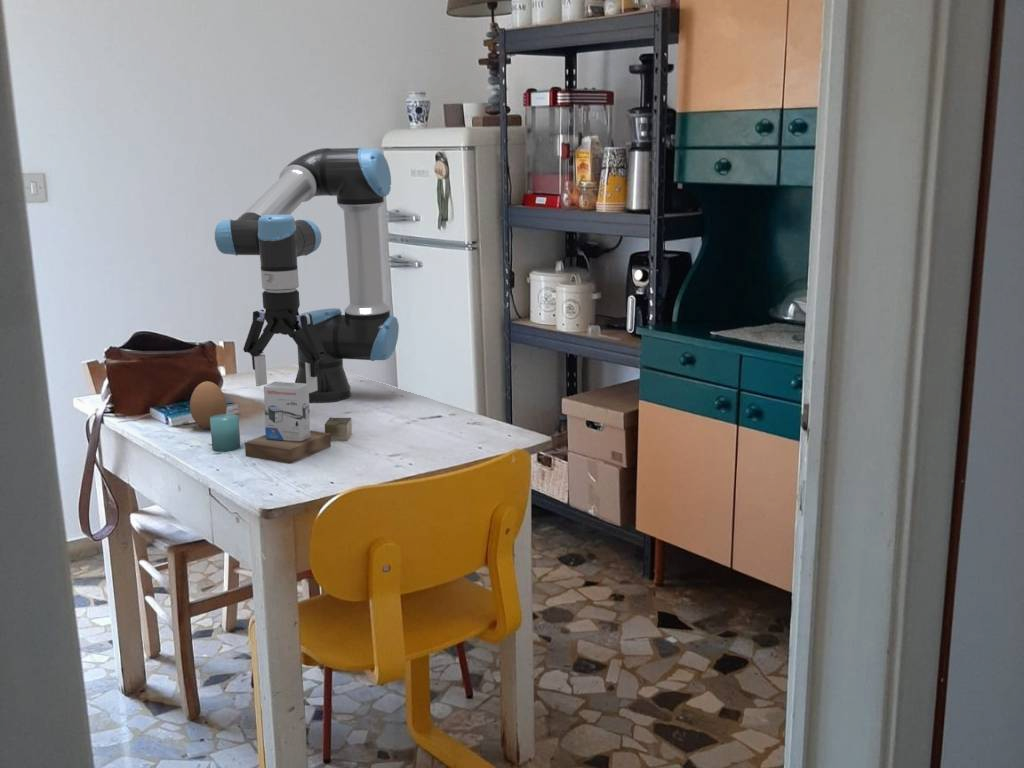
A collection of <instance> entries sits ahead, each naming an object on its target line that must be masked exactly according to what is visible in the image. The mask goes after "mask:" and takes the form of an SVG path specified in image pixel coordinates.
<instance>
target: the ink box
mask: <svg viewBox="0 0 1024 768" xmlns="http://www.w3.org/2000/svg"><path fill="white" fill-rule="evenodd" d="M263 397H264V402H263V403H264V426H265V429H264V430H265V431H264V432H265V435H266V439H273V440H286V441H303V440H305V439H307V438H308V437H310V430H311V424H310V423H311V421H310V420H311V419H310V418H311V416H310V415H311V414H310V402H309V393H307V386H306V384H304V383H295V382H287V381H274V382H273V381H272V382H271V383H267V384H265V385H263Z"/></svg>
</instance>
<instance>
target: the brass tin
mask: <svg viewBox="0 0 1024 768" xmlns="http://www.w3.org/2000/svg"><path fill="white" fill-rule="evenodd" d="M324 433H331V442H348V441H349V439H350V438H351V437H352V434H353V424H352V417H329V418H328V420H327V421H326V422H325V424H324Z"/></svg>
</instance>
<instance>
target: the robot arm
mask: <svg viewBox="0 0 1024 768" xmlns="http://www.w3.org/2000/svg"><path fill="white" fill-rule="evenodd" d="M278 177H279V178H278V180H277V181H276V182H275V183H274V184H272V185H271V186H270V187H269V188H268V189H267V190H266V191H265V192H264V193H263V194H262V195H261V196H260V197H259V198H258V199H257V200H255V202H254V203H252V205H251V206H250V207H248V208H247V209H246V211H245V212H243V213H242V214H241V215H240V216H239V217H238V218H237V219H233V220H232V219H228V220H221V221H219V222H218V223H217V224H216V225H215V226H216V227H215V231H214V241H215V246H216V248H217V250H218V251H219V252H220V253H221V254H224V255H232V256H236V257H238V256H259V260H260V274H261V275H260V279H261V288H262V289H263V290H264V291H263V292H262V293H261V294H262V296H261V297H262V307H263V309H259V310H258V309H257V310H254V311H252V322H251V326H250V329H249V331H248V334H247V337H246V340H245V343H244V346H243V350H242V351H243V352H244V353H248V354H250V356H251V362H252V363H251V364H252V370H254V372H255V373H254V374H255V386H256V387H261V386H266V385H268V377H267V364H266V363H267V361H266V360H267V359H266V354H264V350H265V348H266V347H267V346H268V345H269V343H270V341H271V340H272V338H273V337H274V335H279V334H281V335H285V336H286V335H287V336H288V337H290V338H291V339H292V340H293V341H294V342H295V344H296V346H297V360H298V364H297V365H298V370H297V373H296V377H295V381H294V383H304V384H306V386H307V393H309V403H327V402H329V403H330V402H336V401H341V400H342V401H343V400H345V399H347V398H350V396H351V385H350V384H349V381H348V377H347V374H346V371H345V370H344V369H345V368H344V362H343V361H344V360H358V361H359V360H361V361H363V360H364V361H372V362H374V361H386V360H388V359H389V358H391V357H392V355H393V353H394V352H395V349H396V347H397V342H398V339H399V333H400V332H399V330H400V329H399V328H400V327H399V326H400V325H399V322H398V318H397V317H396V316H394V315H391V313H390V312H391V309H390V307H389V306H388V305H387V304H386V303H385V302H384V293H383V291H384V289H383V272H382V271H383V270H382V255H381V239H380V238H381V237H380V236H381V235H380V218H379V210H380V207H382V206H383V204H384V201H385V200H384V199H385V197H387V196H388V195H389V194H390V192H391V185H392V176H391V171H390V166H389V163H388V160H387V159H386V157H385V155H384V154H383V153H382V151H381V150H379V149H376V148H367V147H348V148H346V147H345V148H342V147H341V148H337V147H336V148H334V147H333V148H328V147H327V148H326V147H325V148H323V147H322V148H319V149H315V150H314V149H313V150H311V151H309V152H306V153H305V154H302V155H300V156H299V157H297V158H296V159H294V160H292V161H291V162H290V163H289V164H288V165H286V166H285V167H284V168H283V169H281V172H280V174H279V176H278ZM324 196H327V197H329V196H331V197H336V204H337V205H338V207H339V208H341V209H342V211H343V218H344V233H345V247H346V261H347V263H346V264H347V265H346V266H347V275H348V276H347V277H348V280H347V281H348V291H349V292H348V293H349V294H348V295H349V304H348V306H347V307H346V308H345V309H344V314H342V313H343V312H342V310H341V309H340V308H335V307H333V308H331V307H330V308H324V309H316V310H311V311H306V312H304V313H301V314H300V312H299V308H300V303H301V302H300V291H298V288H299V287H300V285H299V284H300V283H299V281H300V280H299V271H298V270H299V269H298V258H300V257H301V256H302V257H303V256H308V255H310V254H312V253H314V252H316V251H317V250H318V248H319V247H320V245H321V243H322V234H321V230H320V228H319V226H318V225H317V224H316V223H315V222H313V221H311V220H308V219H297V220H296V219H295V218H294V216H293V215H292V214H293V212H294V211H295V210H296V209H297V208H298V207H299V206H300V205H301V204H302V203H306V202H309V201H310V200H311V199H313V198H314V197H324ZM265 322H266V325H265V326H264V324H265ZM263 327H264V328H263Z"/></svg>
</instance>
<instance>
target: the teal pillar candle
mask: <svg viewBox="0 0 1024 768" xmlns="http://www.w3.org/2000/svg"><path fill="white" fill-rule="evenodd" d="M210 425H211V428H210V436H211V437H210V438H211V450H212V451H213V452H218V453H229V452H234V451H238V450H239V449H241V431H240V417H239V415H238V414H235V413H226V414H219V415H215V416H212V417H210Z"/></svg>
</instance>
